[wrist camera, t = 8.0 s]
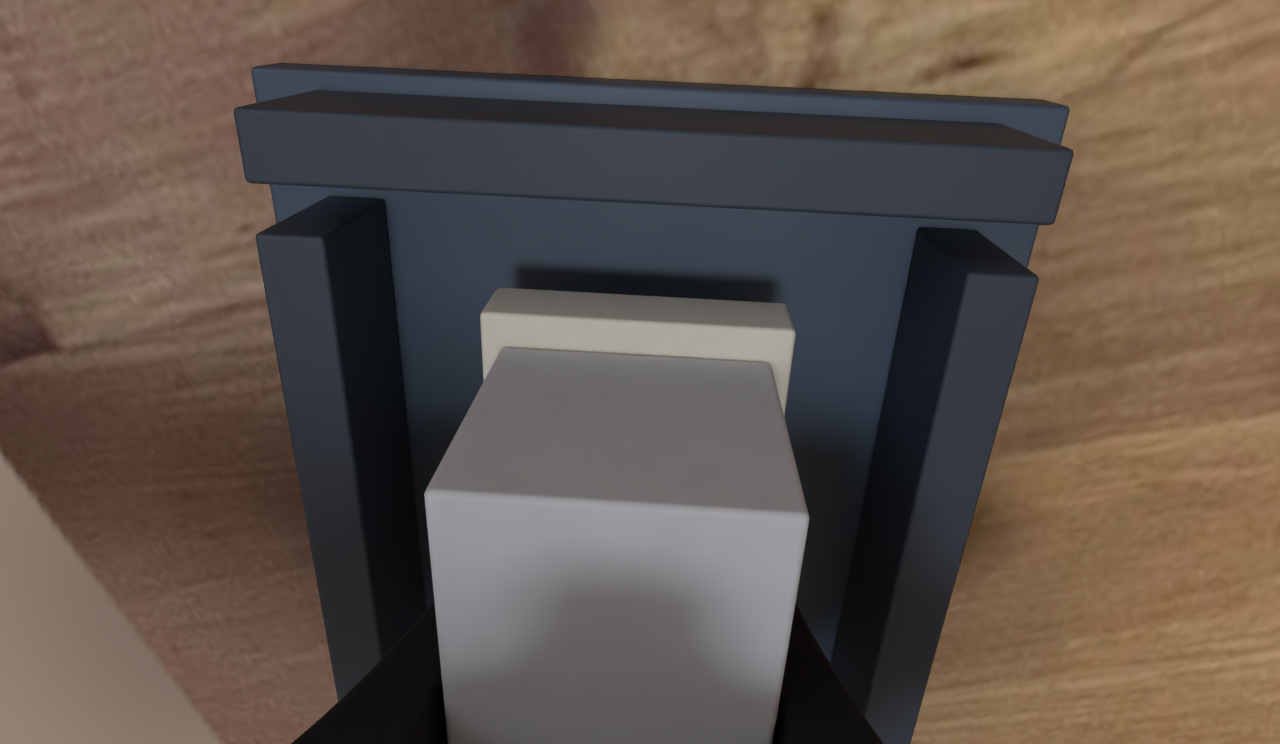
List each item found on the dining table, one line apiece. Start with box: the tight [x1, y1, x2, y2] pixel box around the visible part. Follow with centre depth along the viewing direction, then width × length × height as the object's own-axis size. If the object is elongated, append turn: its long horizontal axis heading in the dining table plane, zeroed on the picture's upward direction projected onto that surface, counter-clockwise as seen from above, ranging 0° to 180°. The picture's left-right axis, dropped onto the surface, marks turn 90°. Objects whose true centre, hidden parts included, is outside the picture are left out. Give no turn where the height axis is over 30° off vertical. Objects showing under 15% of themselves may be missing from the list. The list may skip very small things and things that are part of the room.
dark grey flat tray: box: [234, 63, 1073, 744], centre depth 15 cm, size 16×13×4 cm
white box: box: [424, 288, 810, 744], centre depth 12 cm, size 10×5×5 cm, turn 178°
